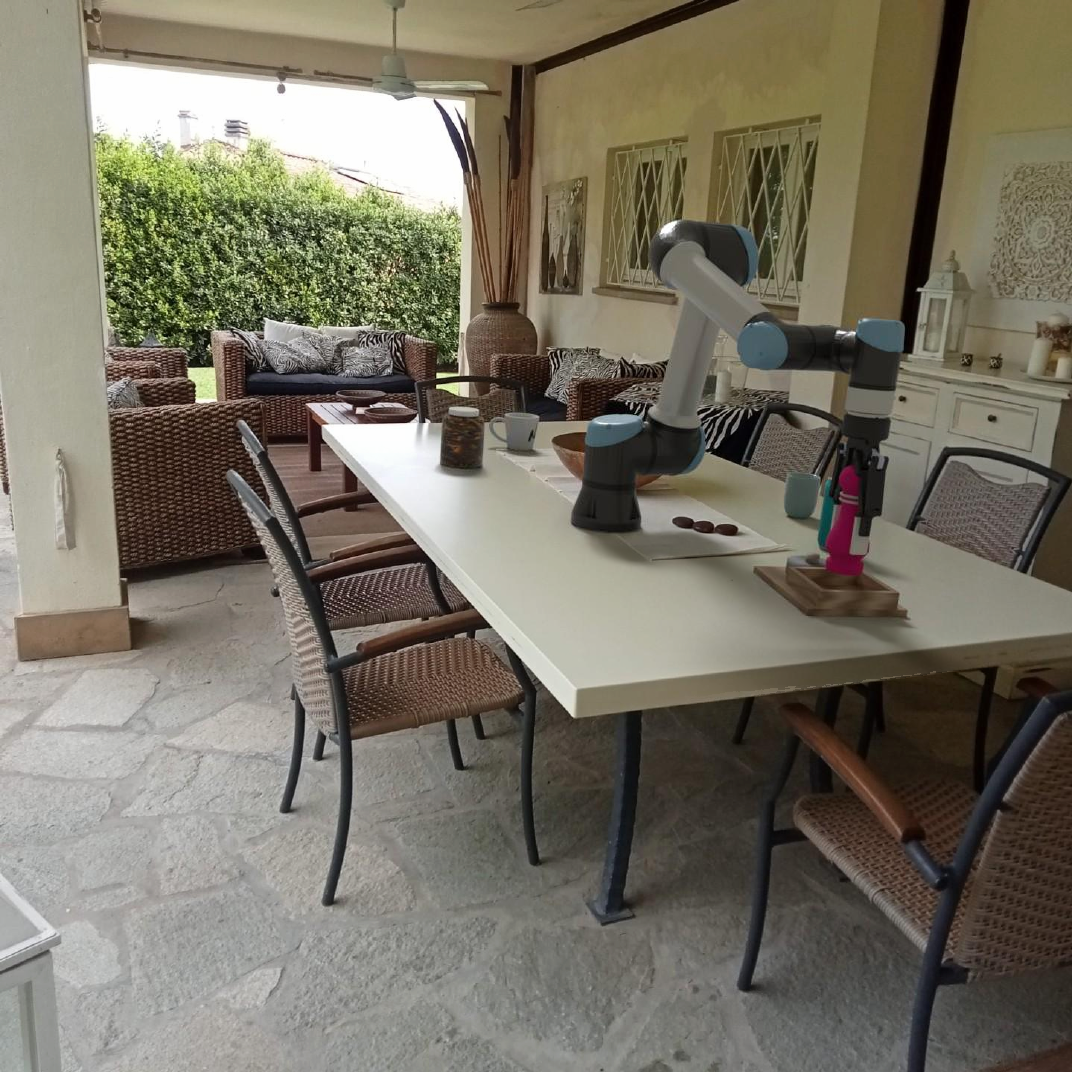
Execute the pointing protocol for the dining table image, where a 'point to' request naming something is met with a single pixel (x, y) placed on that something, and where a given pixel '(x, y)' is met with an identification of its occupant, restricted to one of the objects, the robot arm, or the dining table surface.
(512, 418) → the mug
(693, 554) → the dining table surface
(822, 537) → the beverage can
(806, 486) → the cup
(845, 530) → the pepper mill
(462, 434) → the jar
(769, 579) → the pulley board
